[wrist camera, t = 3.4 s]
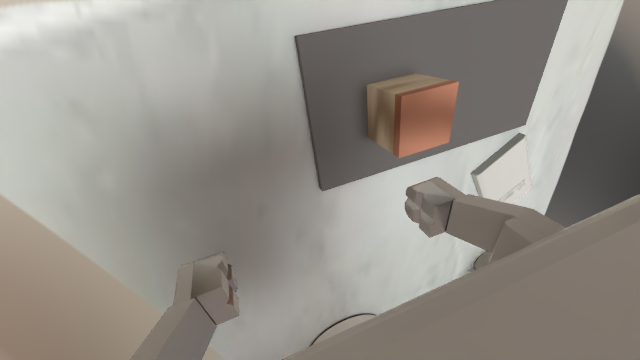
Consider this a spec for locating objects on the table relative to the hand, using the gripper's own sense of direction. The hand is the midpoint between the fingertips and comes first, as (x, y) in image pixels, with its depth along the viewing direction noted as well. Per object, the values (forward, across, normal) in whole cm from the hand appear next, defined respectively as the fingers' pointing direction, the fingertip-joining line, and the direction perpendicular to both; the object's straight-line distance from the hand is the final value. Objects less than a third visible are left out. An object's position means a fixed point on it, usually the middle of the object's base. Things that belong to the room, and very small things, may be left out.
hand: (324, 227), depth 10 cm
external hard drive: (+14, +31, -17) cm, 38 cm away
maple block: (+12, +11, -1) cm, 17 cm away
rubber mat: (+13, +17, -1) cm, 22 cm away
